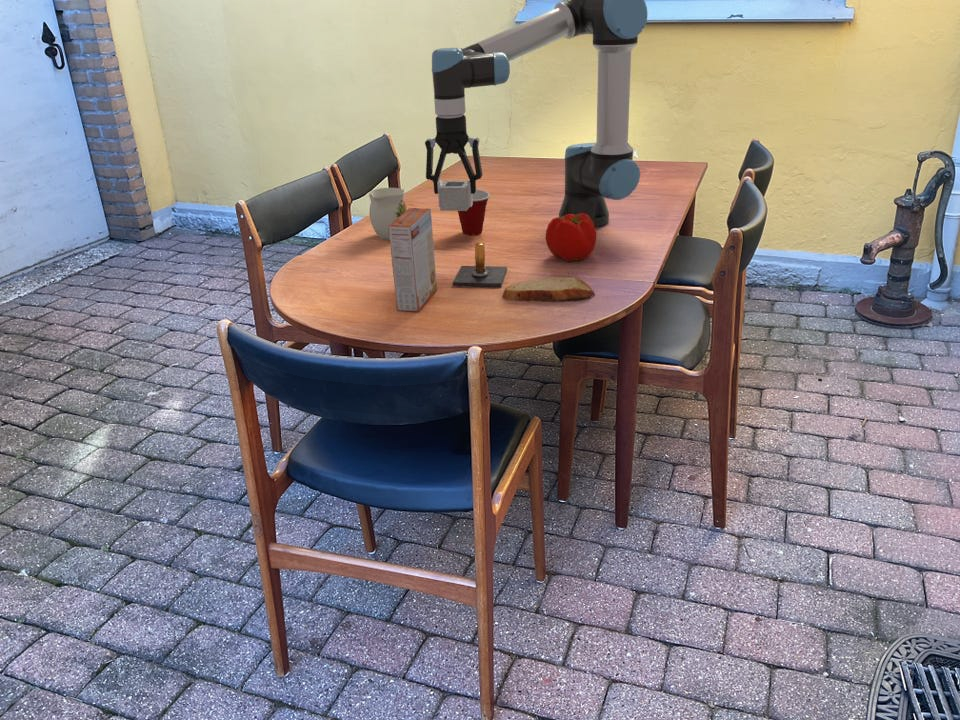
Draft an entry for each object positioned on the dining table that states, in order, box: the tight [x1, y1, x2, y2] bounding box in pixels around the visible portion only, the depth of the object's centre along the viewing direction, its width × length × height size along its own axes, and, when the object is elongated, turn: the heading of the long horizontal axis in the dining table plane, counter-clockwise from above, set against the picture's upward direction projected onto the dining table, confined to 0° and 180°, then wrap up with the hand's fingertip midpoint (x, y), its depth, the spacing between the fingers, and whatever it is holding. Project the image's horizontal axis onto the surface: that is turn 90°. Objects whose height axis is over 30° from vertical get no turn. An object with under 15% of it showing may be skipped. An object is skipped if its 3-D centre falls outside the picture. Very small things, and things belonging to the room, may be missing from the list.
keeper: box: [452, 242, 508, 288], centre depth 203 cm, size 12×12×9 cm
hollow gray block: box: [438, 180, 469, 212], centre depth 209 cm, size 7×7×6 cm
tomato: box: [545, 213, 597, 262], centre depth 215 cm, size 13×14×12 cm
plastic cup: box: [457, 188, 491, 237], centre depth 237 cm, size 11×11×12 cm
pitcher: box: [368, 187, 408, 240], centre depth 237 cm, size 11×18×14 cm, turn 163°
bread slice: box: [501, 276, 596, 302], centre depth 193 cm, size 18×18×4 cm
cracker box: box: [388, 207, 438, 313], centre depth 189 cm, size 14×6×21 cm, turn 165°
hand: (456, 205), depth 211 cm, fingers closed on hollow gray block, 7 cm apart
